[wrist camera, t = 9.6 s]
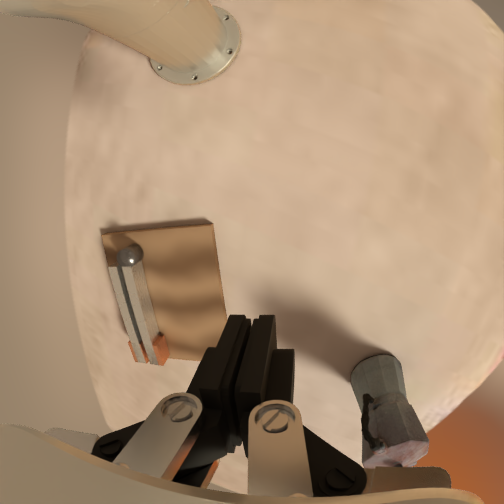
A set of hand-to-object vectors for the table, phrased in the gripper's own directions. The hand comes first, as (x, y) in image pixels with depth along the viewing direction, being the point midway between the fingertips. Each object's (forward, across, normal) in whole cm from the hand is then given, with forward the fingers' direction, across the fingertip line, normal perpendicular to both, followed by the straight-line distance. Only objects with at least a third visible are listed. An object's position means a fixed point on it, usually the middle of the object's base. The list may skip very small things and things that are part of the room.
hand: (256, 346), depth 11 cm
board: (+27, +18, +12) cm, 35 cm away
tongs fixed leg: (+25, +24, +14) cm, 38 cm away
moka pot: (+27, -14, +27) cm, 40 cm away
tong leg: (+25, +21, +13) cm, 36 cm away
